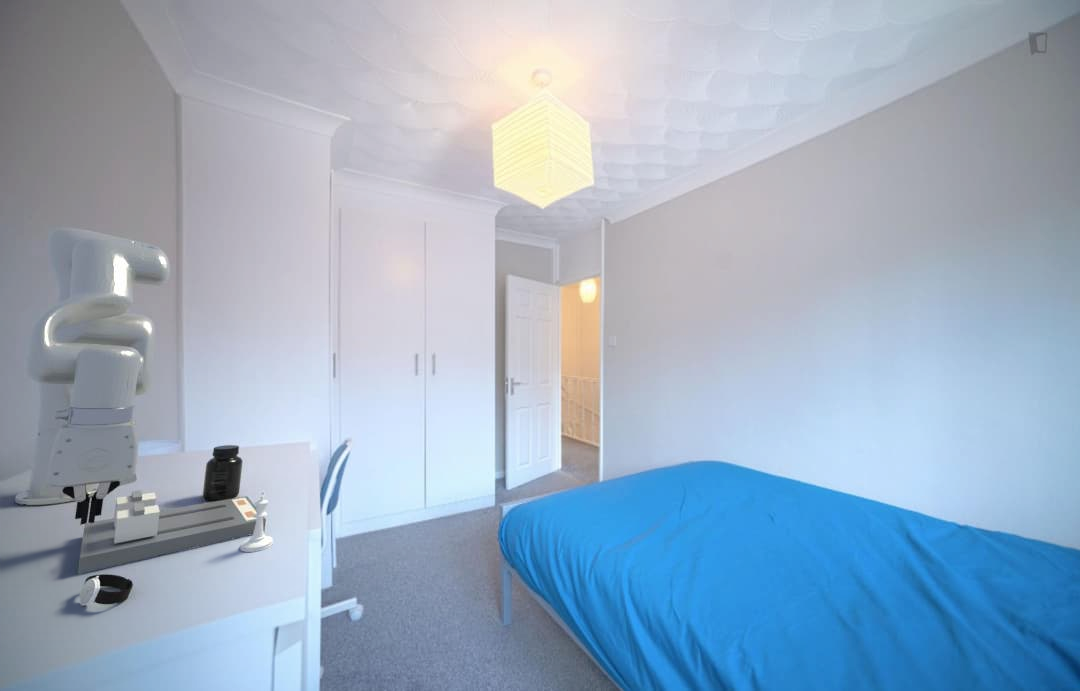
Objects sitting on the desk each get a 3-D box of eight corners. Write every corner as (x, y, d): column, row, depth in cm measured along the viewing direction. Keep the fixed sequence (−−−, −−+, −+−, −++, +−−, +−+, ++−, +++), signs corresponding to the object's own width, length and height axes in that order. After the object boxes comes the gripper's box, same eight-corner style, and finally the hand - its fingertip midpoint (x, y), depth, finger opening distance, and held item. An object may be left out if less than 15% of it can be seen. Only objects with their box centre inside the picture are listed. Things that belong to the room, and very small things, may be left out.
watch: (68, 598, 54) (72, 572, 54) (116, 582, 58) (119, 557, 58) (93, 617, 51) (97, 589, 51) (141, 598, 55) (144, 572, 55)
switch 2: (114, 534, 66) (117, 506, 66) (155, 527, 69) (158, 500, 70) (113, 543, 63) (117, 514, 63) (156, 535, 67) (160, 507, 67)
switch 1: (113, 519, 71) (117, 493, 71) (152, 513, 75) (155, 488, 75) (113, 527, 68) (117, 499, 68) (153, 520, 72) (156, 494, 72)
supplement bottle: (246, 494, 95) (251, 445, 95) (220, 504, 88) (226, 451, 89) (221, 491, 96) (226, 442, 96) (193, 500, 89) (200, 448, 89)
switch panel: (83, 537, 70) (85, 522, 70) (245, 507, 87) (247, 495, 88) (77, 574, 59) (80, 556, 59) (264, 531, 77) (265, 518, 77)
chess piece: (237, 554, 68) (243, 497, 68) (243, 541, 72) (249, 488, 73) (270, 549, 70) (276, 494, 71) (274, 538, 75) (280, 486, 75)
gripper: (29, 422, 60) (11, 541, 59) (161, 417, 71) (149, 517, 70) (36, 415, 65) (20, 524, 64) (159, 411, 76) (147, 505, 75)
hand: (87, 520), depth 67 cm, fingers closed
